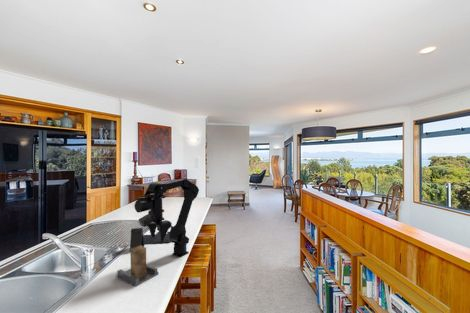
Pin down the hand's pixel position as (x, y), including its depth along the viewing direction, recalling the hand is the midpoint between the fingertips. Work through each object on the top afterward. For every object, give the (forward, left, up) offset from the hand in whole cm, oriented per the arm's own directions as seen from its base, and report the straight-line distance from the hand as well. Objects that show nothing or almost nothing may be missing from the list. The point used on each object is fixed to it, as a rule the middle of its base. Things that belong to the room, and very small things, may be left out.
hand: (157, 239), depth 117 cm
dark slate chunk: (-23, -29, -14) cm, 40 cm away
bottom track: (+12, +1, -13) cm, 18 cm away
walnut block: (+12, +2, -12) cm, 17 cm away
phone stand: (-7, -28, -13) cm, 32 cm away
